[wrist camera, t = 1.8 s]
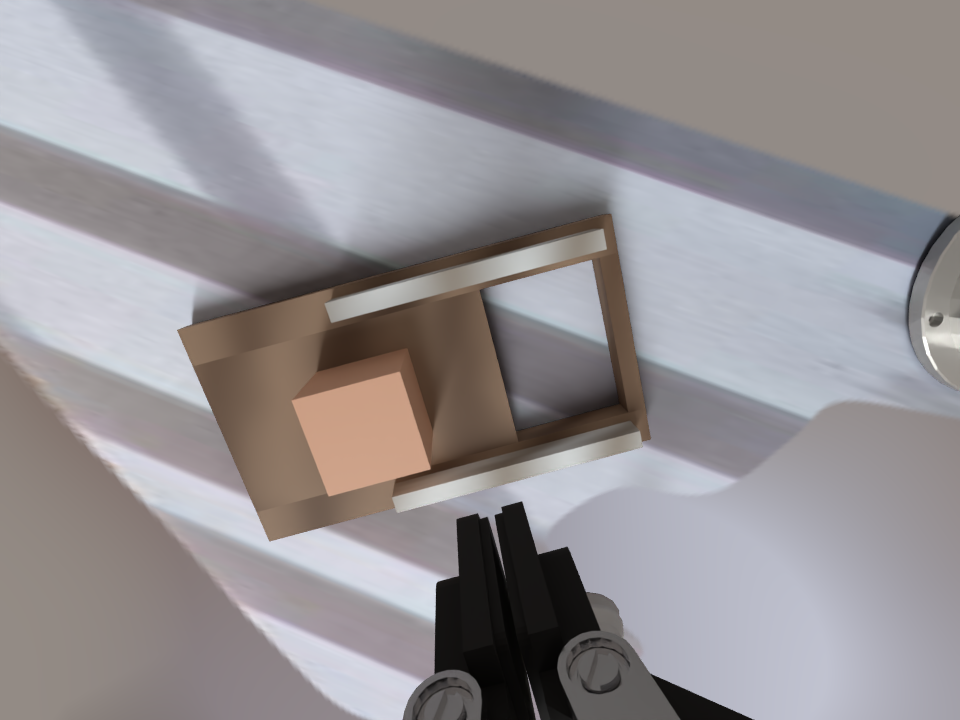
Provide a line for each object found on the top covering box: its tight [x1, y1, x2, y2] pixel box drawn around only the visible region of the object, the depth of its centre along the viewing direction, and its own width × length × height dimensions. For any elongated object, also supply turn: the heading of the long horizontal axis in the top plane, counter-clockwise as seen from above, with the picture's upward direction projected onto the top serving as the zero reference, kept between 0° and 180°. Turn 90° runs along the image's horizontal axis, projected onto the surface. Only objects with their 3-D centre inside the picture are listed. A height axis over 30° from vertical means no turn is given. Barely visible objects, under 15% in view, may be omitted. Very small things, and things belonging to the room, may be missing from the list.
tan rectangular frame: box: [177, 214, 651, 541], centre depth 27 cm, size 23×13×3 cm, turn 105°
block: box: [291, 348, 433, 496], centre depth 25 cm, size 5×5×4 cm
